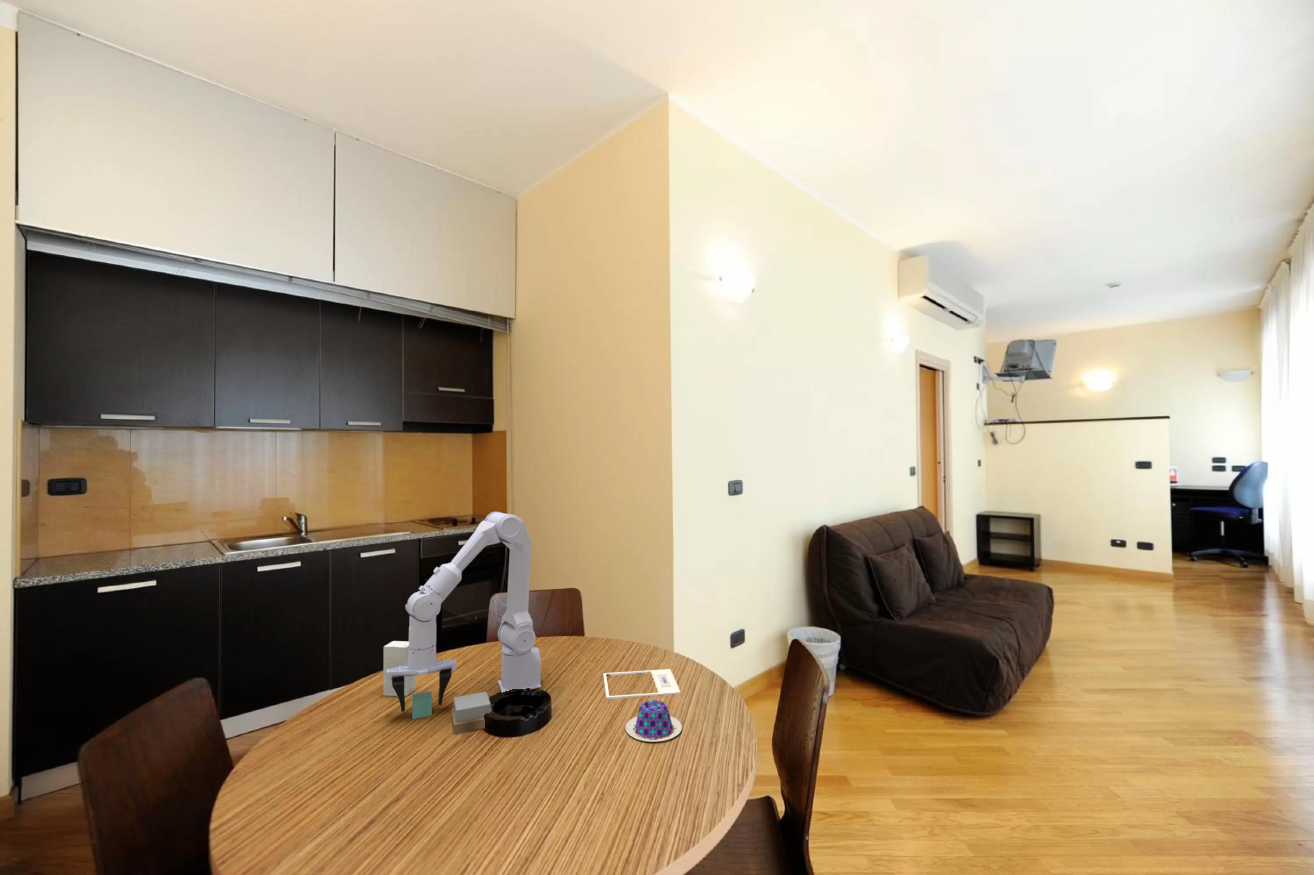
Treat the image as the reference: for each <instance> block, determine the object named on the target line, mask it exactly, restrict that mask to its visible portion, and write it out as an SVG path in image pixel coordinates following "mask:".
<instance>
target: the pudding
mask: <svg viewBox="0 0 1314 875" xmlns="http://www.w3.org/2000/svg"><path fill="white" fill-rule="evenodd" d="M634 725H635V726H634ZM672 725H673V726H674V728H676V729H673V726H672ZM633 728H634V730H633ZM635 728H636V729H635ZM672 729H673V730H674V731H673V730H672ZM682 729H683V725H682V724H681V722H680V720H678V719H677V718H676V717H674V716H671V715H670V710H669V707H668V705H667V704H666V703H665V702H664V701H661V700H657V699H654V700H646V701H644V703H641V704H640V706H639V709H638V713H637V715H636V716H634V717H632V718H631V719H629V720H628V722H626V725H625V731H626V732H627V734H628V735H629V736H631V737H632V738H634V739H636V740H639V741H643V742H653V743H654V742H663V741H664V742H665V741H669V740H671V739H673V738H675V737H676V736H678V735H679V734H680V733H681V732H682V731H683V730H682ZM634 732H635V733H637V734H635V733H634ZM672 732H674V733H672ZM638 734H639V735H638ZM671 734H672V735H671ZM636 735H638V736H640V737H638V736H636ZM665 735H668V736H669V735H670V736H669V737H667V736H666V738H665ZM641 737H642V738H641ZM651 737H654V738H653V739H655V738H659V739H657V740H649V739H652V738H651ZM661 737H663V738H662V739H661ZM644 738H646V739H644Z"/></svg>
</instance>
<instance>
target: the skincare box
mask: <svg viewBox="0 0 1314 875" xmlns="http://www.w3.org/2000/svg"><path fill="white" fill-rule="evenodd" d="M407 664H409V640H408V641H407V640H406V641H403V640H402V641H401V640H393V641H390V642H388V644H386V645H384V646H383V677H382V678H383V679H382V680H383V686H382V688H383V690H382V691H383V696H384V697H398V696H397V694H396V692H395V690H394V688H393V686H392V680H390V681H386V680H387V669H391V668H396V667H400V666H404V665H407ZM415 684H416V675H415V676H409V677H404V696H405V697H407V696H408V695H410V694H411V693H413V691H415V690H416V685H415Z"/></svg>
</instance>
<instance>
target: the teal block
mask: <svg viewBox="0 0 1314 875" xmlns="http://www.w3.org/2000/svg"><path fill="white" fill-rule="evenodd" d="M432 696H433V693H432V691H431V690H430V691H423V692H417V693H413V694H412V700H411V701H412V707H411V709H412V714H411V715H412V716H411V718H412V719H411V720H415V719H421V718H426V717H431V716H433V713H432V712H433V697H432Z"/></svg>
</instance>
